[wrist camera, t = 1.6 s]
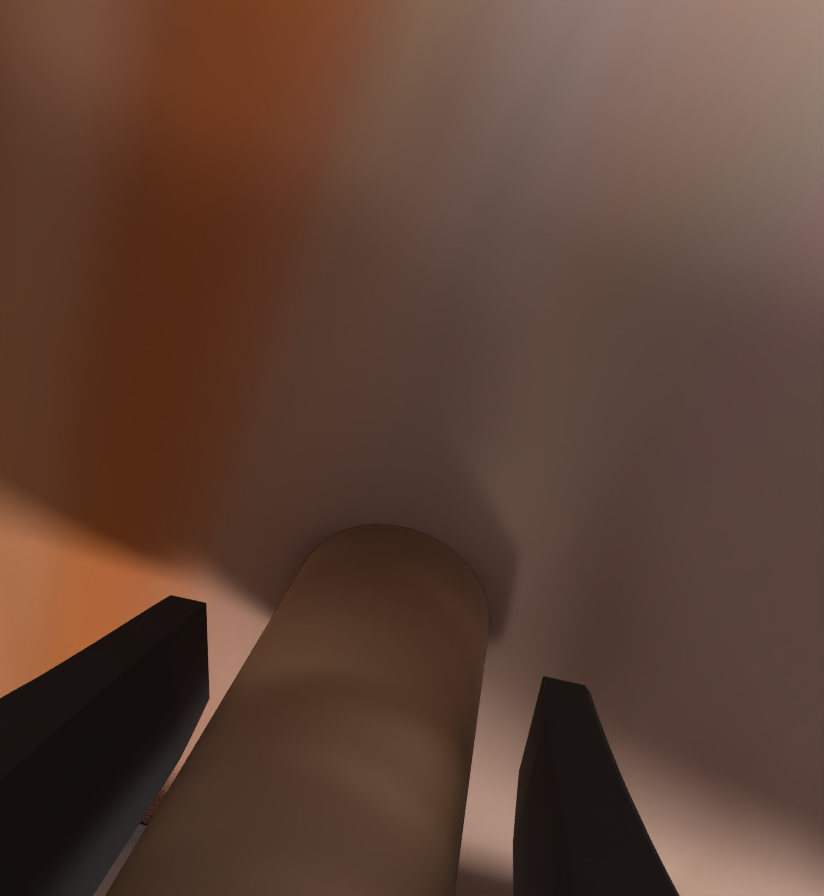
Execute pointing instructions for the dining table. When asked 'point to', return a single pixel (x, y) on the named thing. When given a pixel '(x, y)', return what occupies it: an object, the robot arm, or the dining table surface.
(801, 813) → the dining table surface
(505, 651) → the dining table surface
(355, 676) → the peg
